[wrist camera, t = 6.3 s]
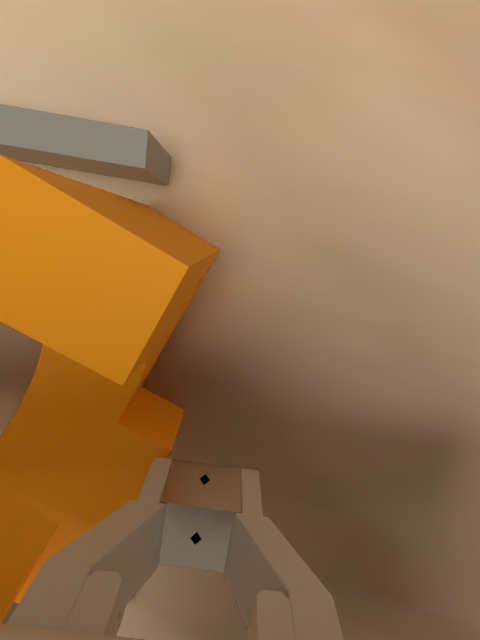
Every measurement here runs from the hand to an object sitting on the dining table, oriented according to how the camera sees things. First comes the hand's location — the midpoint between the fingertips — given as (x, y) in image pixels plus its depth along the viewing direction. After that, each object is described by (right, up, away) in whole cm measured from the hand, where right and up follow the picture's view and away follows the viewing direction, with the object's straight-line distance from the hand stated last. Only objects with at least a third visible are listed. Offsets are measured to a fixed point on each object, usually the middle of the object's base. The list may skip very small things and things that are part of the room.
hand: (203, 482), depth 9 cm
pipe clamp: (-3, +2, +3) cm, 5 cm away
